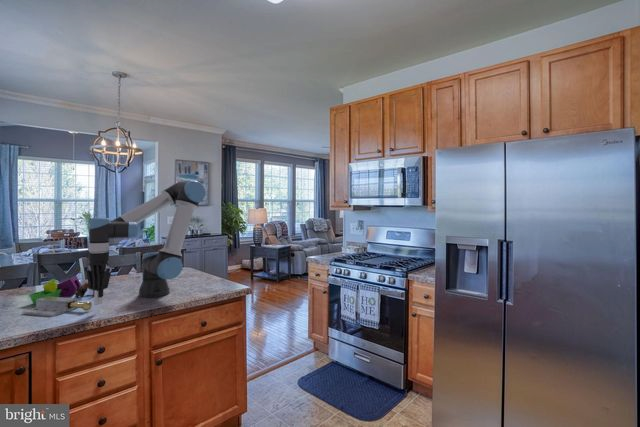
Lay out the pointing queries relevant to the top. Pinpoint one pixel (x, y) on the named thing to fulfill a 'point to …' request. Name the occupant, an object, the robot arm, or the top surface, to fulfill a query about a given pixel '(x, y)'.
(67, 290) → the mounting bracket
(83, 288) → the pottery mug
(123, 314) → the top surface
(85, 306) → the pin
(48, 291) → the fruit basket
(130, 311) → the top surface
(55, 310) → the hinge
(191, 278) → the top surface
